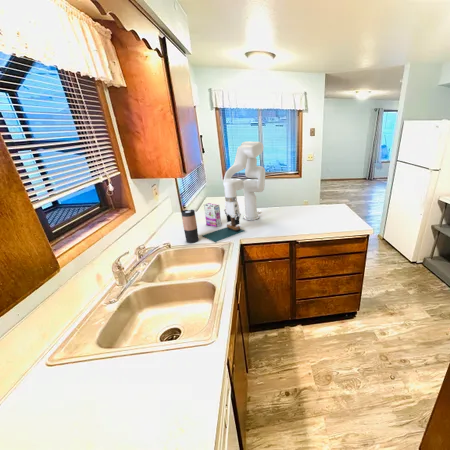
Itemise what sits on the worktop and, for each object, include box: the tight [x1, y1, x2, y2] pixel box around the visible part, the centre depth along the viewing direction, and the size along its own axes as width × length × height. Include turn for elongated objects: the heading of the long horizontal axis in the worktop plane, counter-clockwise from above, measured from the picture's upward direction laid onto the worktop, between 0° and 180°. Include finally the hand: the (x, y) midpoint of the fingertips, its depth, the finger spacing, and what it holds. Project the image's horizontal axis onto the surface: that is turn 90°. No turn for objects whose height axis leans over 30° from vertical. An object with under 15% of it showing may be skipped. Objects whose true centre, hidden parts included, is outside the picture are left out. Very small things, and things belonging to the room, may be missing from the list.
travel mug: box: [180, 209, 199, 244], centre depth 150 cm, size 8×8×20 cm
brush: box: [226, 216, 241, 232], centre depth 169 cm, size 4×10×10 cm, turn 52°
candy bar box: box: [203, 202, 222, 228], centre depth 177 cm, size 11×5×16 cm, turn 62°
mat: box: [201, 227, 246, 243], centre depth 164 cm, size 24×16×1 cm, turn 142°
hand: (233, 222), depth 168 cm, fingers open, 8 cm apart
